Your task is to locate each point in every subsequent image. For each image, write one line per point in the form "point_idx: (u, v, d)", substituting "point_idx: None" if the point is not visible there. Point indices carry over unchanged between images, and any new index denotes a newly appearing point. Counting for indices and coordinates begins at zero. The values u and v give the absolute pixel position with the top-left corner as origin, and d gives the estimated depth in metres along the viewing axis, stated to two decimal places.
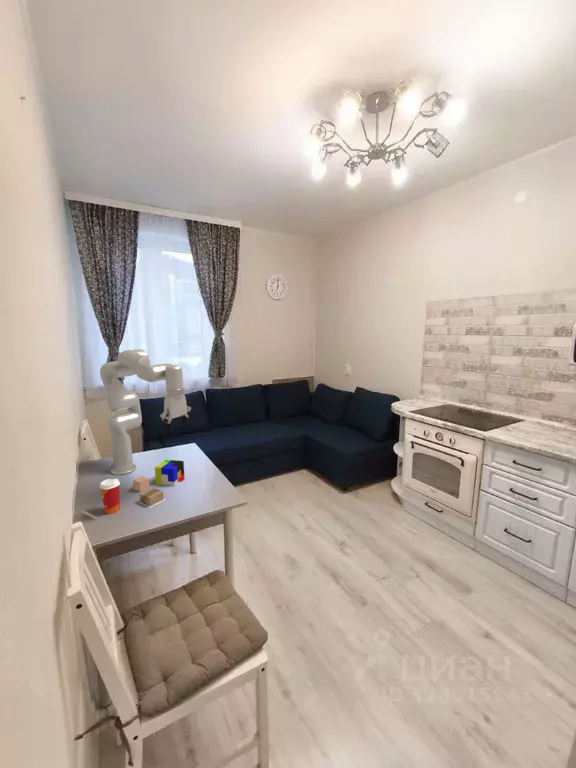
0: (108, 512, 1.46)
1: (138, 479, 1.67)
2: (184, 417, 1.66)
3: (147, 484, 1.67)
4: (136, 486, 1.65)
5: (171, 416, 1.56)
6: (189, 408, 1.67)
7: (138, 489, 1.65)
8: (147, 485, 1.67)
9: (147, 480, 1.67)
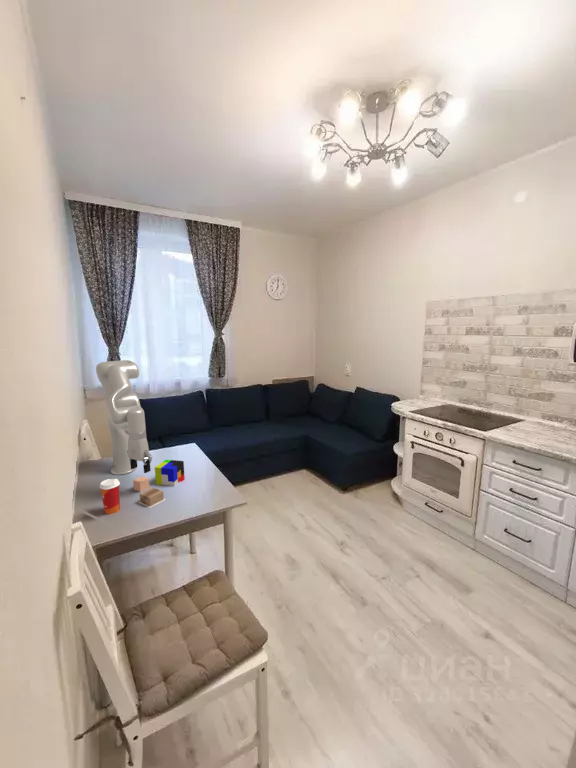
0: (108, 512, 1.46)
1: (138, 479, 1.67)
2: (134, 459, 1.67)
3: (147, 484, 1.67)
4: (136, 486, 1.65)
5: None
6: None
7: (138, 489, 1.65)
8: (147, 485, 1.67)
9: (147, 480, 1.67)
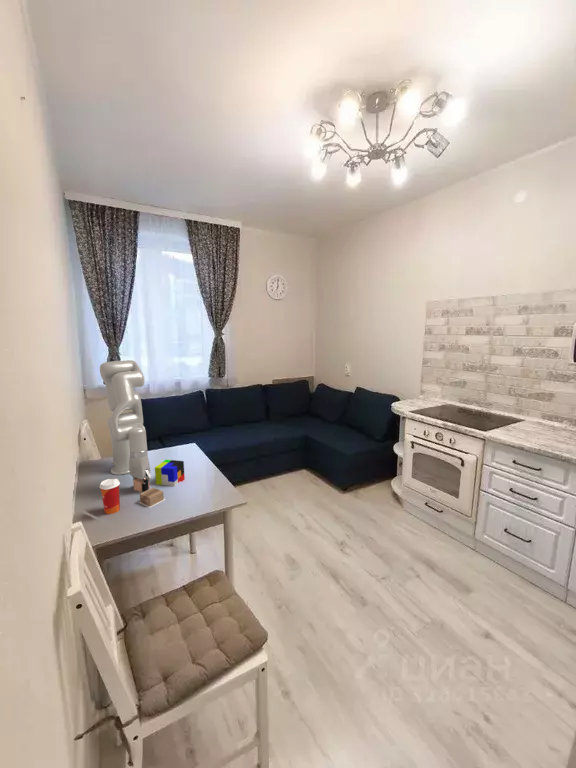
0: (108, 512, 1.46)
1: (138, 479, 1.67)
2: None
3: None
4: (136, 486, 1.65)
5: None
6: None
7: (138, 489, 1.65)
8: None
9: None
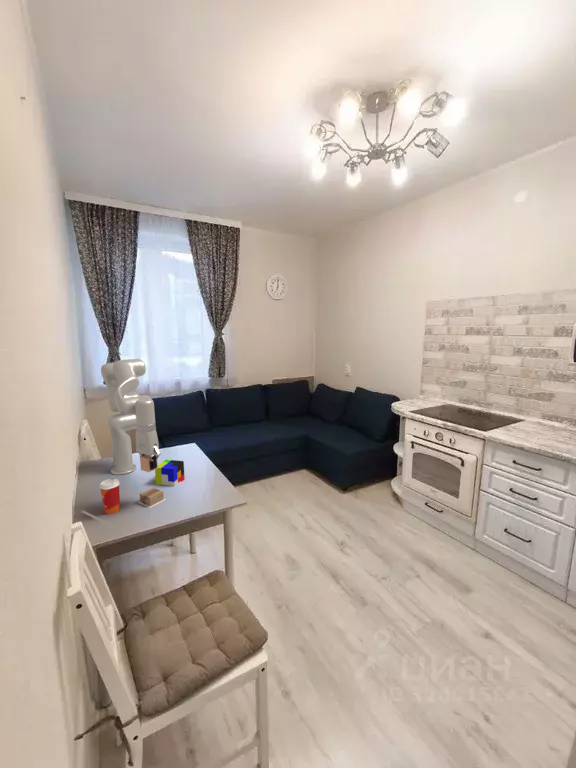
0: (108, 512, 1.46)
1: (145, 456, 1.52)
2: None
3: None
4: (143, 463, 1.51)
5: None
6: None
7: (145, 466, 1.51)
8: None
9: None
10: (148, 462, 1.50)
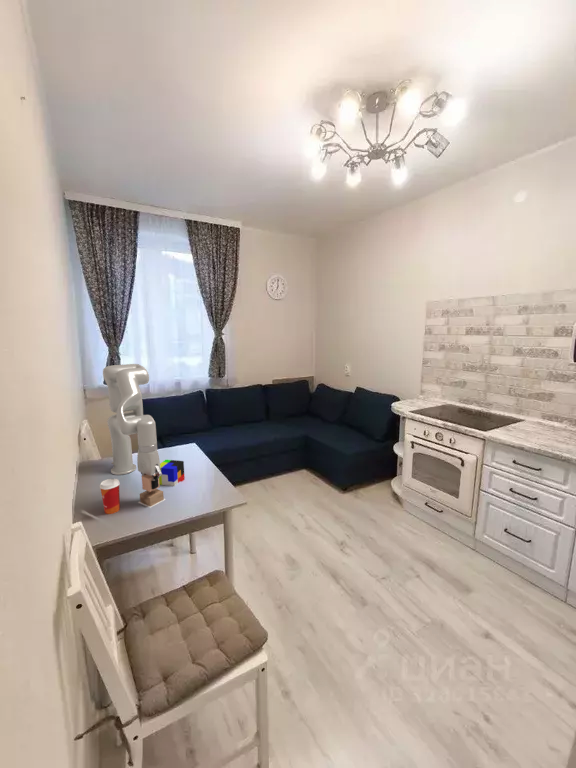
0: (108, 512, 1.46)
1: (147, 475, 1.54)
2: None
3: None
4: (145, 483, 1.53)
5: None
6: None
7: (147, 486, 1.52)
8: None
9: None
10: (150, 482, 1.51)
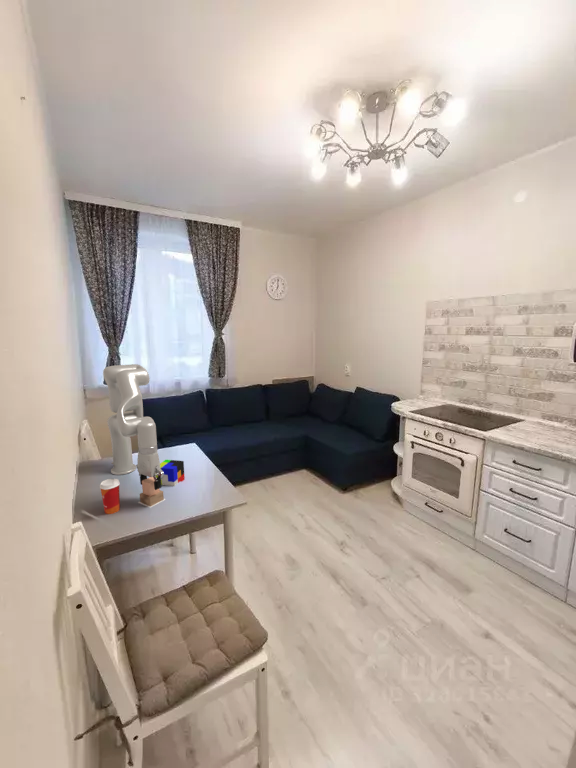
0: (108, 512, 1.46)
1: (147, 480, 1.54)
2: (143, 474, 1.57)
3: None
4: (145, 487, 1.53)
5: None
6: None
7: (147, 490, 1.53)
8: None
9: None
10: (150, 486, 1.52)
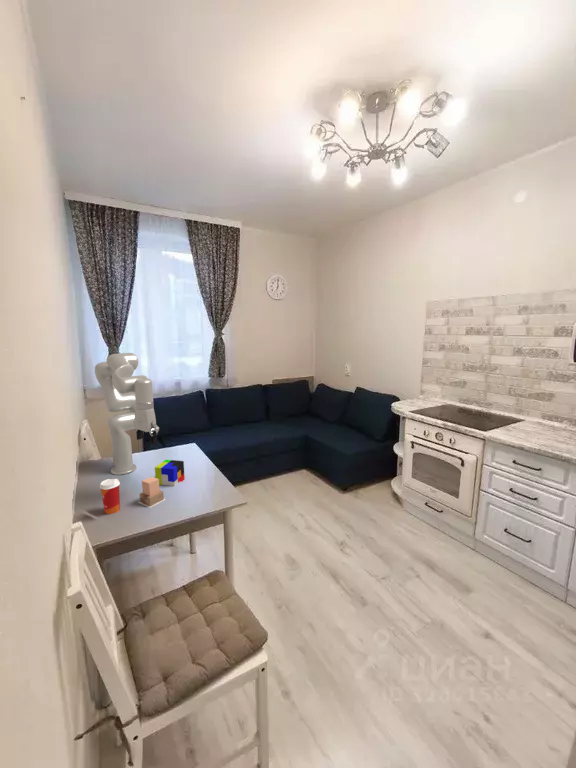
0: (108, 512, 1.46)
1: (147, 480, 1.54)
2: (140, 430, 1.64)
3: (157, 485, 1.55)
4: (145, 487, 1.53)
5: None
6: None
7: (147, 490, 1.53)
8: (157, 486, 1.55)
9: (157, 481, 1.55)
10: (150, 486, 1.52)
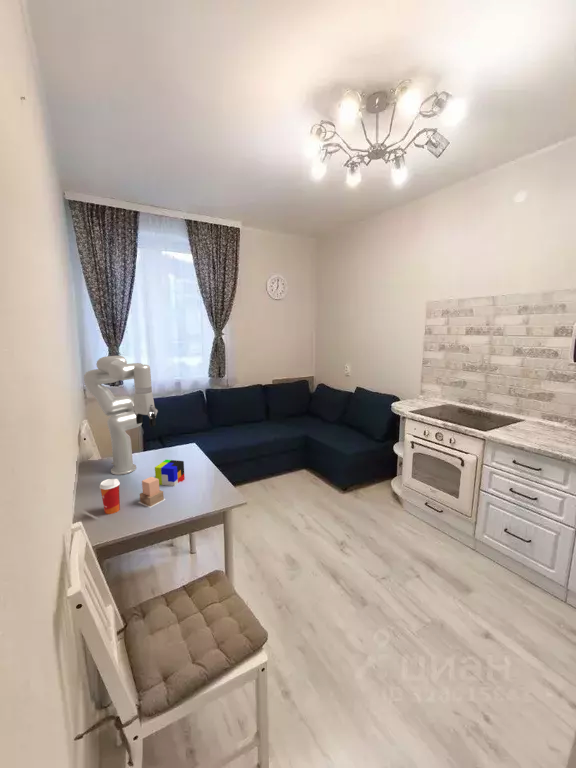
0: (108, 512, 1.46)
1: (147, 480, 1.54)
2: (139, 415, 1.73)
3: (157, 485, 1.55)
4: (145, 487, 1.53)
5: None
6: None
7: (147, 490, 1.53)
8: (157, 486, 1.55)
9: (157, 481, 1.55)
10: (150, 486, 1.52)
